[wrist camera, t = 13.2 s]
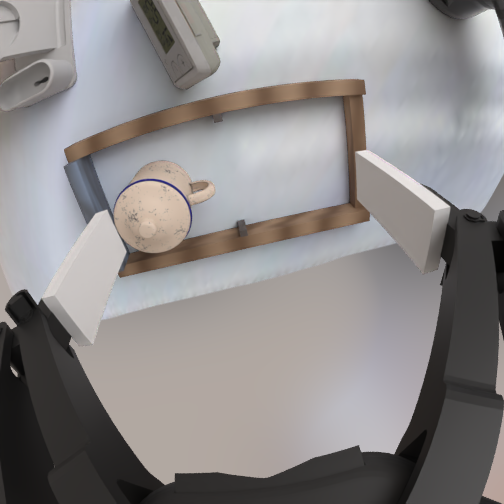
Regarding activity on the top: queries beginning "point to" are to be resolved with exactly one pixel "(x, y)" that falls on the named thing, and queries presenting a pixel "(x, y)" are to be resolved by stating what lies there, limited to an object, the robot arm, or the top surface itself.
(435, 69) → the top surface
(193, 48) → the digital clock
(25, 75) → the phone holder
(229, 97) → the open rectangular wooden frame
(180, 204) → the teacup with lid
